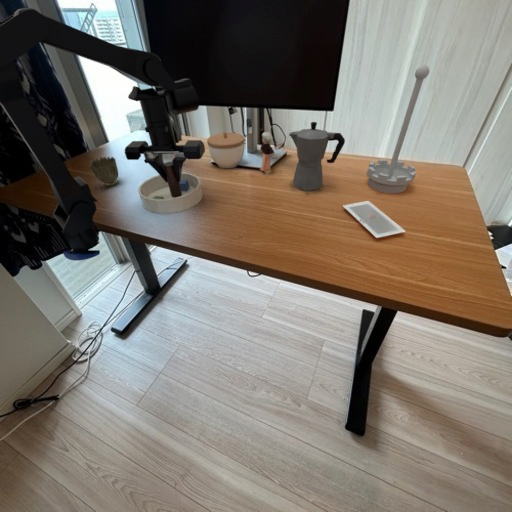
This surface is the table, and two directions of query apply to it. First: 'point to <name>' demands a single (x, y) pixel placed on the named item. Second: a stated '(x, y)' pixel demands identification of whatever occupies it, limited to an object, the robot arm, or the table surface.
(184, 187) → the blue block
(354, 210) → the touchpad
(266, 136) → the grandmother figurine
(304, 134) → the coffeepot
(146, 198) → the bowl
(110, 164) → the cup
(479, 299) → the table surface
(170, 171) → the brown cylinder
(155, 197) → the green block
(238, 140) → the lidded bowl
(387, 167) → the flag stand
